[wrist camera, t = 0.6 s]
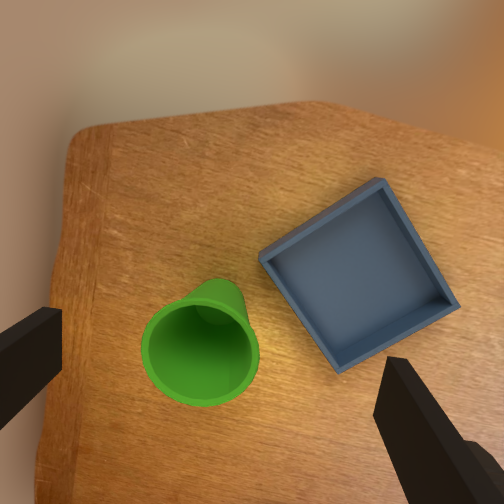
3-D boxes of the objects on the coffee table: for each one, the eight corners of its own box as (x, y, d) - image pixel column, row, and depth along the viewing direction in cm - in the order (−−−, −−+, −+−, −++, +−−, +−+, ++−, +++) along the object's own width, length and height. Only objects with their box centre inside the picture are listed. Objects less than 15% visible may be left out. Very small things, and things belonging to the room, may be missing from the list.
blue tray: (258, 252, 36) (257, 259, 33) (375, 176, 34) (385, 178, 31) (332, 359, 38) (337, 375, 35) (445, 295, 36) (461, 307, 33)
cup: (231, 242, 36) (215, 276, 25) (278, 315, 37) (282, 375, 27) (160, 286, 37) (116, 336, 27) (208, 354, 39) (184, 426, 28)
